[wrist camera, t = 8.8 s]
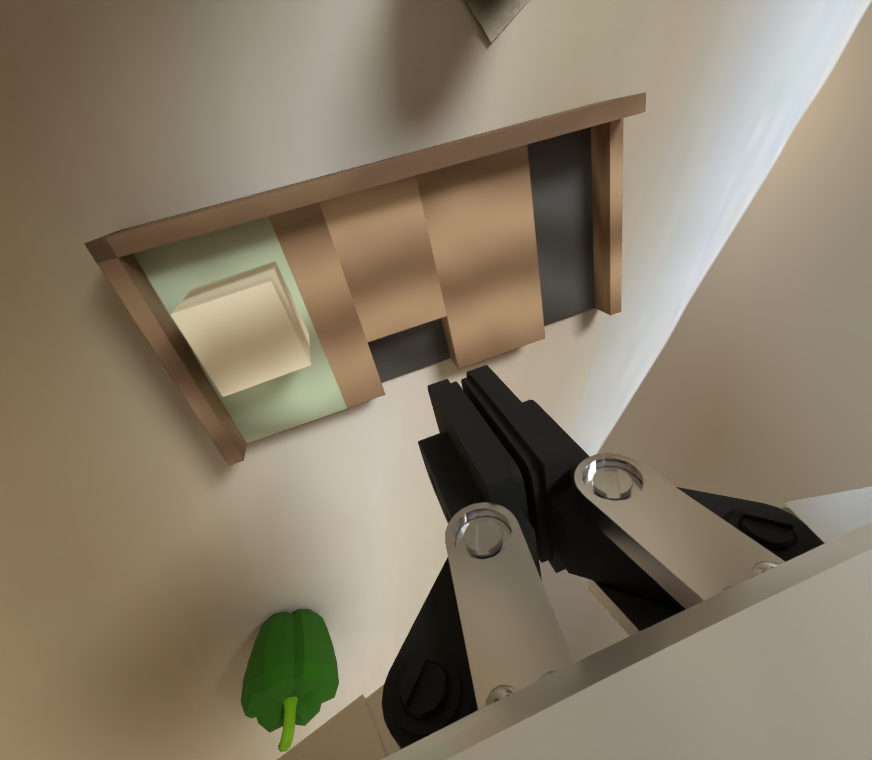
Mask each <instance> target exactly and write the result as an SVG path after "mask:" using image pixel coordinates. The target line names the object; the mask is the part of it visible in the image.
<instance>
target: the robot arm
mask: <svg viewBox="0 0 872 760" xmlns="http://www.w3.org/2000/svg"><path fill="white" fill-rule="evenodd" d="M461 383H462V388H463V390H462V388H461V387H460V385H459V384H458V383H457V382H453V383H450V382H449V380H448V379H445V380H442V381H440V382H437V383H434V384H431V385H428V392H429V395H430V399H431V403H432V406H433V410H434V413H435V417H436V421H437V424H438V428H439V432H440V433H439V434H437V435H434V436H431V437H428V438H426V439H423V440H420V441H418V444H419V447H420V451H421V454H422V457H423V460H424V463H425V466H426V469H427V472H428V475H429V478H430V480H431V483H432V486H433V488H434V491H435V493H436V496H437V498H438V501H439V503H440V505H441V508H442V510H443V513H444V515H445V517H446V520H447V522H448V526H447V529H446V531H445V543H446V548H447V553H448V558H447V560H446V562H445V564H444V566H443V568H442V569H441V571H440V573H439V575H438V577H437V579H436V581H435V583H434V585H433V587H432V589H431V591H430V593H429V595H428V597H427V599H426V601H425V603H424V604H423V606H422V608H421V610H420V612H419V614H418V616H417V618H416V620H415V622H414V624H413V626H412V628H411V630H410V632H409V634H408V636H407V638H406V639H405V641H404V643H403V645H402V647H401V649H400V651H399V653H398V655H397V657H396V659H395V661H394V663H393V665H392V667H391V669H390V671H389V673H388V676H387V678H386V681H385V684H384V685H383V686H381V687H380V688H379V689H378V690H376V691H375V692H374V693H372V694H371V695H370V696H369V697H367V698H366V699H365V697H364V696H363V694H362V695H361V696H360V697H358V698H357V699H356V700H355V701H353V702H352V703H351V704H349V705H348V706H347V707H345V708H344V709H343V710H341V711H340V712H339V713H338V714H336V715H335V716H334V717H332V718H331V719H330V720H328V721H327V722H326V723H325V724H323V725H322V726H321V727H319V728H318V729H317V730H315V731H314V732H313V733H311V734H310V735H309V736H308V737H306V738H305V739H304V740H302V741H301V742H300V743H298V744H297V745H296V746H294V747H293V748H292V749H291V750H289V751H288V752H287V753H285V754H284V755H283V756H281V757H280V758H279V759H278V760H872V486H871V487H866V488H860V489H855V490H849V491H844V492H839V493H833V494H827V495H822V496H817V497H811V498H806V499H800V500H796V501H790V502H784V504H783V507H782V508H781V509H780V508H778V507H774V506H771V505H767V504H764V503H759V502H754V501H748V500H743V499H738V498H732V497H727V496H722V495H716V494H711V493H706V492H700V491H695V490H690V489H684V488H679V487H675V486H673V485H672V484H670V483H669V482H667V481H666V480H664V479H663V478H661V477H660V476H659V475H657V474H656V473H654V472H653V471H651V470H650V469H648V468H647V467H645V466H644V465H642V464H641V463H639V462H638V461H636V460H634V459H631V458H630V457H627V456H623V455H620V454H611V453H604V454H597V455H593V456H591V457H590V456H589V455H588V454H587V453H586V452H585V451H584V450H583V449H582V448H581V447H580V446H579V445H578V444H577V443H576V442H575V441H574V440H573V439H572V438H571V437H570V436H569V435H568V434H567V433H566V432H565V431H564V430H563V429H562V428H561V427H560V426H559V425H558V424H557V423H556V422H555V421H554V420H553V419H552V418H551V417H550V416H549V415H548V414H547V413H546V412H545V411H544V410H543V409H542V408H541V407H540V406H539V405H538V404H537V403H536V402H535V401H533V400H528V401H525V402H521V401H520V400H519V399H518V398H517V397H516V396H515V395H514V393H513V392H512V391H511V390H510V389H509V388H508V387H507V386H506V385H505V384H504V383H503V382H502V381H501V380H500V378H499V377H498V376H497V375H496V374H495V373H494V372H493V371H492V370H491V369H490V368H489V367H488V366H487V365H485V366H482V367H479V368H476V369H474V370H471V371H468V372H467V378H464V379H462V380H461ZM539 560H540V561H541V562H542V563H543V562H545V561H547V560H548V561H549V562H550V564H551V566H552V567H553V569H554V570H555V572H556V573H557V572H560V571H562V570H564V569H566V570H567V571H568V573H571V574H574V575H578V576H580V577H582V581H583V583H584V584H585V585H586V587H587V588H588V590H589V591H590V592H591V593H592V594H593V595H594V597H595V598H596V599H597V600H598V601H599V602H600V603H601V604H602V605H603V607H604V608H605V609H606V610H607V611H608V612H609V613H610V615H611V616H612V617H613V618H614V619H615V620H616V621H617V622H618V623H619V624H620V626H621V627H622V628H623V629H624V630H625V631H626V632H627V634H628V635H629V636H630V637H628V638H626V639H624V640H622V641H620V642H617V643H615V644H613V645H611V646H609V647H607V648H605V649H603V650H601V651H599V652H597V653H595V654H593V655H591V656H588V657H586V658H584V659H582V660H580V661H578V662H576V663H574V661H573V659H572V656H571V654H570V651H569V649H568V646H567V644H566V641H565V639H564V636H563V634H562V631H561V629H560V626H559V624H558V621H557V619H556V616H555V613H554V611H553V609H552V606H551V603H550V601H549V599H548V596H547V593H546V591H545V588H544V586H543V583H542V580H541V573H540V565H539Z"/></svg>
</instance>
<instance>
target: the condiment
mask: <svg viewBox="0 0 872 760" xmlns="http://www.w3.org/2000/svg"><path fill="white" fill-rule="evenodd" d="M465 1H466V2H467V4H468V6H469V8H470V10H471V11H472V13H473V14H474V16H475V17H476V19H477V20H478V22H479V23H480V24H481V26H482V28H483V29H484V31H485V33H486V35H487V36H488V38H489V40H490V42H491V43H492V42H493V41H494V39H495V38H496V37H497V36H498V35H499V34H500V32H501V31H502V30H503V29H504V28H505V27H506V26H507V25H508V23H509V22H510V21H511V20H512V19H513V18H514V17H515V16H516V14H517V13H518V12H519V11H520V10H521V9H522V8H523V6H524V5H525V4H526V3H527V2H528V1H529V0H465Z"/></svg>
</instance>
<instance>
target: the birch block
mask: <svg viewBox="0 0 872 760" xmlns="http://www.w3.org/2000/svg"><path fill="white" fill-rule="evenodd" d="M170 315H171V316H172V318H173V320H174V321H175V323H176V324H177V326H178V327H179V329H180V331H181V332H182V334H183V335H184V337H185V338H186V340H187V341H188V343H189V345H190V346H191V348H192V349H193V351H194V352H195V354H196V356H197V357H198V359H199V360H200V362H201V363H202V365H203V367H204V368H205V370H206V371H207V373H208V374H209V376H210V378H211V379H212V381H213V382H214V384H215V385H216V387H217V389H218V390H219V392H220V393H221V395H222V396H223V397H225V396H228V395H230V394H233V393H236V392H239V391H241V390H244V389H247V388H250V387H252V386H255V385H258V384H261V383H263V382H266V381H269V380H272V379H274V378H277V377H280V376H283V375H285V374H288V373H291V372H294V371H296V370H299V369H302V368H305V367H307V366H310V365H311V355H310V341H309V333H308V331H307V329H306V326H305V324H304V322H303V320H302V318H301V315H300V313H299V311H298V309H297V307H296V305H295V302H294V300H293V298H292V296H291V294H290V291H289V289H288V287H287V285H286V283H285V281H284V278H283V276H282V274H281V272H280V270H279V268H278V265H277V263H276V261H274V262H271V263H268V264H265V265H262V266H259V267H256V268H253V269H250V270H247V271H244V272H241V273H238V274H235V275H231V276H228V277H225V278H222V279H219V280H216V281H213V282H210V283H207V284H204V285H201V286H198V287H195V288H192V289H191V291H190V292H189V293H188V294H187V295H186V297H185V298H184V299H183V300H182V301H181V303H180V304H179V305H178V306H177V307H176V308H175V310H174V311H173V312H172V313H171V314H170Z"/></svg>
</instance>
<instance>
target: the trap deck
mask: <svg viewBox="0 0 872 760" xmlns="http://www.w3.org/2000/svg"><path fill="white" fill-rule="evenodd" d="M645 107H646V93H641V94H636V95H631V96H626V97H621V98H617V99H612V100H607V101H602V102H598V103H594V104H590V105H586V106H583V107H579V108H575V109H571V110H568V111H564V112H560V113H557V114H553V115H549V116H545V117H542V118H538V119H534V120H530V121H527V122H523V123H519V124H515V125H512V126H508V127H504V128H501V129H497V130H493V131H489V132H486V133H482V134H478V135H474V136H471V137H467V138H463V139H459V140H456V141H452V142H448V143H444V144H441V145H437V146H433V147H430V148H426V149H422V150H418V151H415V152H411V153H407V154H403V155H400V156H396V157H392V158H388V159H385V160H381V161H377V162H374V163H370V164H366V165H362V166H359V167H355V168H351V169H347V170H344V171H340V172H336V173H332V174H329V175H325V176H321V177H317V178H314V179H310V180H306V181H303V182H299V183H295V184H291V185H288V186H284V187H280V188H276V189H273V190H269V191H265V192H261V193H258V194H254V195H250V196H247V197H243V198H239V199H235V200H232V201H228V202H224V203H220V204H217V205H213V206H209V207H205V208H202V209H198V210H194V211H190V212H187V213H183V214H179V215H176V216H172V217H168V218H164V219H161V220H157V221H153V222H149V223H146V224H142V225H138V226H134V227H131V228H127V229H123V230H120V231H116V232H114V233H111V234H108V235H106V236H103V237H100V238H98V239H95V240H92V241H89V242H87V243H84V244H85V245H86V247H87V249H88V250H89V252H90V253H91V255H92V256H93V258H94V259H95V261H96V262H97V264H98V265H99V267H100V269H101V270H102V272H103V273H104V275H105V276H106V278H107V279H108V281H109V282H110V284H111V285H112V287H113V288H114V290H115V292H116V293H117V295H118V296H119V298H120V299H121V301H122V302H123V304H124V305H125V307H126V308H127V310H128V311H129V313H130V315H131V316H132V318H133V319H134V321H135V322H136V324H137V325H138V327H139V328H140V330H141V331H142V333H143V335H144V336H145V338H146V339H147V341H148V342H149V344H150V345H151V347H152V348H153V350H154V351H155V353H156V354H157V356H158V358H159V359H160V361H161V362H162V364H163V365H164V367H165V368H166V370H167V371H168V373H169V374H170V376H171V377H172V379H173V381H174V382H175V384H176V385H177V387H178V388H179V390H180V391H181V393H182V394H183V396H184V397H185V399H186V400H187V402H188V404H189V405H190V407H191V408H192V410H193V411H194V413H195V414H196V416H197V417H198V419H199V420H200V422H201V424H202V425H203V427H204V428H205V430H206V431H207V433H208V434H209V436H210V437H211V439H212V440H213V442H214V443H215V445H216V447H217V448H218V450H219V451H220V453H221V454H222V456H223V457H224V459H225V460H226V462H227V463H228V465H229V466H230V465H232V464H235V463H238V462H241V461H244V456H245V451H246V445H247V443H250V442H253V441H256V440H259V439H261V438H264V437H267V436H270V435H273V434H276V433H278V432H281V431H284V430H287V429H290V428H293V427H295V426H298V425H301V424H304V423H307V422H310V421H312V420H315V419H318V418H321V417H324V416H327V415H329V414H332V413H335V412H338V411H341V410H344V409H346V408H349V407H352V406H355V405H357V404H360V403H363V402H366V401H369V400H372V399H374V398H377V397H380V396H383V395H385V392H384V389H383V386H382V383H381V382H382V381H385V380H388V379H391V378H394V377H397V376H400V375H403V374H406V373H408V372H411V371H414V370H417V369H420V368H423V367H426V366H429V365H431V364H434V363H437V362H440V361H443V360H446V359H449V358H451V360H452V361H453V362H454V363H455V365H456V366H457V367H458V368H462V367H465V366H468V365H471V364H474V363H476V362H479V361H482V360H485V359H488V358H491V357H493V356H496V355H499V354H502V353H505V352H508V351H510V350H513V349H516V348H519V347H522V346H525V345H527V344H530V343H533V342H536V341H539V340H542V339H545V331H544V325H547V324H549V323H552V322H555V321H558V320H561V319H564V318H567V317H570V316H572V315H575V314H578V313H581V312H584V311H587V310H590V309H593V308H596V309H599V310H601V311H603V312H605V313H607V314H609V315H613V314H615V313H618V312H621V271H622V189H623V118H625V117H628V116H632V115H636V114H639V113H643V112H645ZM274 261H276V263H277V265H278V268H279V270H280V272H281V274H282V276H283V278H284V281H285V283H286V285H287V287H288V289H289V291H290V294H291V296H292V298H293V300H294V302H295V305H296V307H297V309H298V311H299V313H300V315H301V318H302V320H303V322H304V324H305V326H306V329H307V331H308V333H309V341H310V355H311V365H310V366H307V367H305V368H302V369H299V370H296V371H294V372H291V373H288V374H285V375H283V376H280V377H277V378H274V379H272V380H269V381H266V382H263V383H261V384H258V385H255V386H252V387H250V388H247V389H244V390H241V391H239V392H236V393H233V394H230V395H228V396H225V397H223V396H222V395H221V393H220V392H219V390H218V389H217V387H216V385H215V384H214V382H213V381H212V379H211V378H210V376H209V374H208V373H207V371H206V370H205V368H204V367H203V365H202V363H201V362H200V360H199V359H198V357H197V356H196V354H195V352H194V351H193V349H192V348H191V346H190V345H189V343H188V341H187V340H186V338H185V337H184V335H183V334H182V332H181V331H180V329H179V327H178V326H177V324H176V323H175V321H174V320H173V318H172V316H171V315H170V314H171V313H172V312H173V311H174V310H175V308H176V307H177V306H178V305H179V304H180V303H181V301H182V300H183V299H184V298H185V297H186V295H187V294H188V293H189V292H190V291H191V289H192V288H195V287H198V286H201V285H204V284H207V283H210V282H213V281H216V280H219V279H222V278H225V277H228V276H231V275H235V274H238V273H241V272H244V271H247V270H250V269H253V268H256V267H259V266H262V265H265V264H268V263H271V262H274Z"/></svg>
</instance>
